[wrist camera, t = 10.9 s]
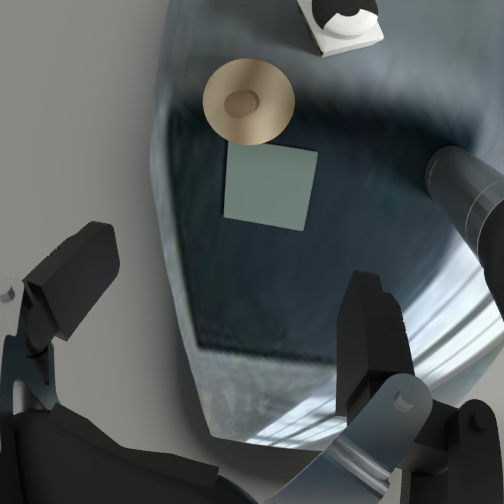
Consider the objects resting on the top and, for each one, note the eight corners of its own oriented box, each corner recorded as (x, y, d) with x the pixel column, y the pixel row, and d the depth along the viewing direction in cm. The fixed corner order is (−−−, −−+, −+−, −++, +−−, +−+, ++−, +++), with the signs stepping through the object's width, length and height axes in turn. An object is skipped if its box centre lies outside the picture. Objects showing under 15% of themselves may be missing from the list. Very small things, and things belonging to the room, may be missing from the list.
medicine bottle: (298, 11, 27) (292, -17, 17) (350, -2, 25) (365, -33, 15) (320, 58, 30) (324, 48, 20) (372, 45, 28) (397, 32, 18)
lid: (299, 64, 28) (297, 60, 23) (288, 148, 34) (284, 161, 29) (209, 57, 29) (191, 54, 24) (204, 138, 35) (186, 149, 30)
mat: (318, 151, 37) (318, 152, 37) (303, 229, 44) (303, 231, 44) (229, 138, 39) (228, 139, 38) (224, 215, 45) (223, 217, 45)
